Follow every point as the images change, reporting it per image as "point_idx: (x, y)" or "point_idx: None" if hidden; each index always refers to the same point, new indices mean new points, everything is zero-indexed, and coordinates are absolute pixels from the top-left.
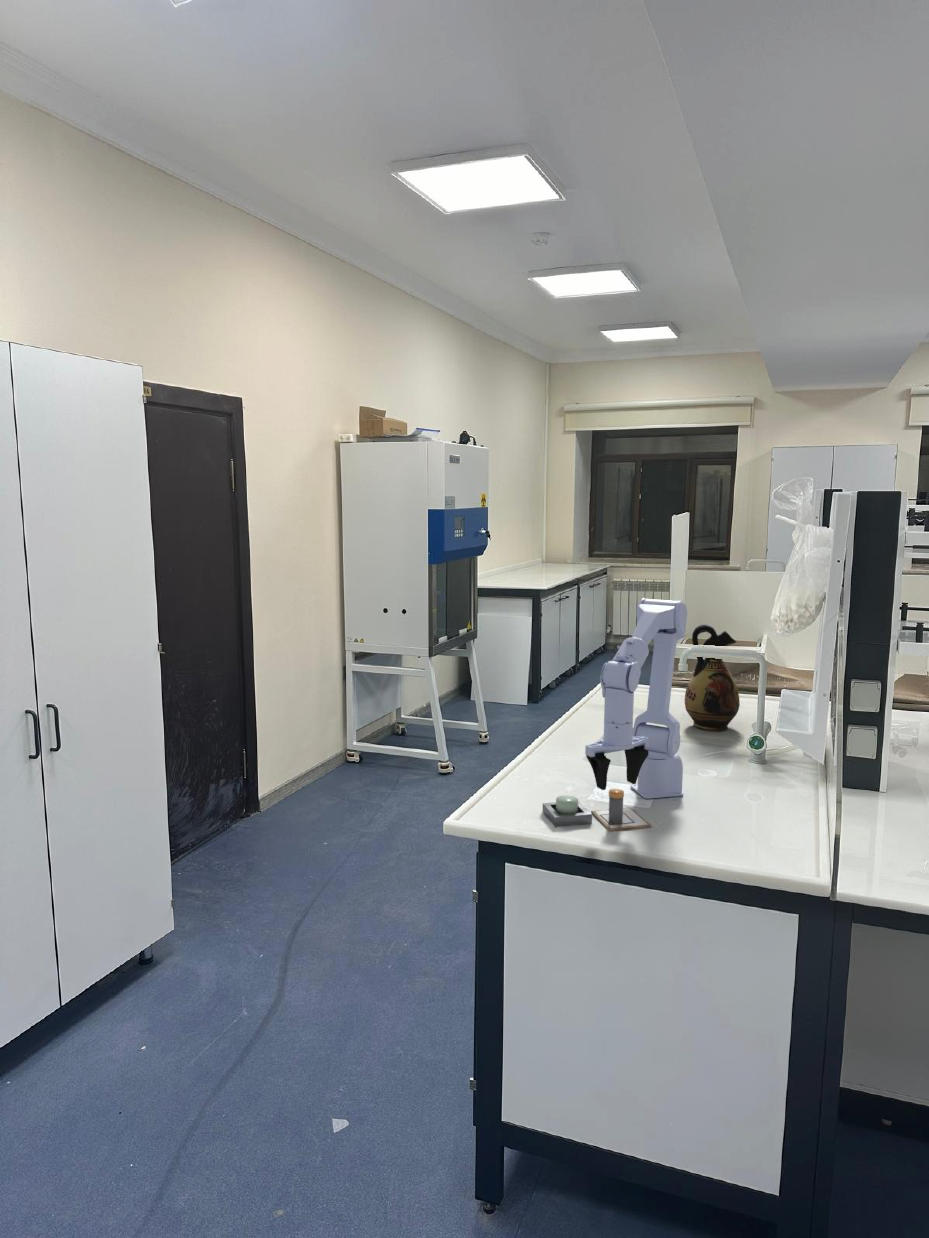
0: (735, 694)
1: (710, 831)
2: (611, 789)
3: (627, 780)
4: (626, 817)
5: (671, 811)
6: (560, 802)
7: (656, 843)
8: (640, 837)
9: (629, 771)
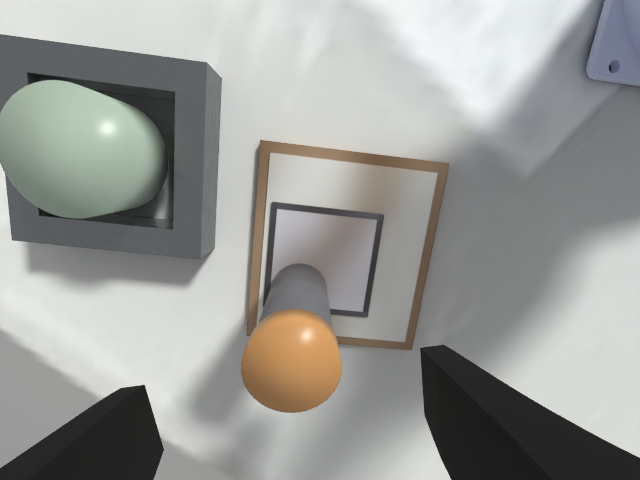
0: None
1: None
2: (277, 328)
3: (423, 352)
4: (364, 264)
5: (581, 240)
6: (12, 183)
7: (348, 451)
8: (325, 402)
9: (468, 441)
